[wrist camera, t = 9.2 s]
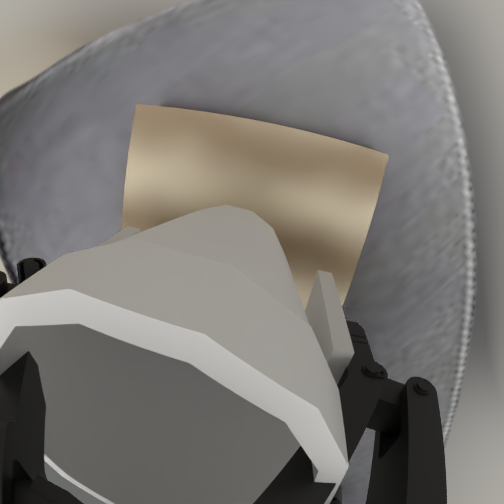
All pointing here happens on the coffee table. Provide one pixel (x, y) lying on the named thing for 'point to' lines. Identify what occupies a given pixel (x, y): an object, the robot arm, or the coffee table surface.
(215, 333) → the foam cup
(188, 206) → the wooden base
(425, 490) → the robot arm
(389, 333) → the coffee table surface
